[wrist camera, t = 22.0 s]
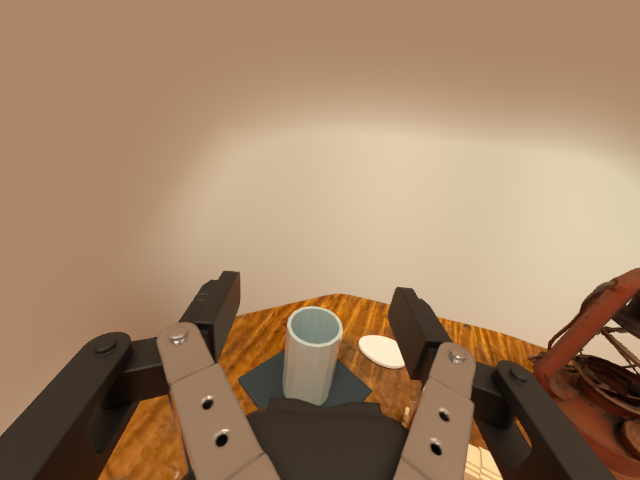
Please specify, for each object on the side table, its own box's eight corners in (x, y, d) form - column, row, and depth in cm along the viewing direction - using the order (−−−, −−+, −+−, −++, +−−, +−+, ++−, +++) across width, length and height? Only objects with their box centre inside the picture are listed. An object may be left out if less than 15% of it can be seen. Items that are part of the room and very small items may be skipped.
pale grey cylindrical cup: (304, 421, 28) (313, 357, 24) (272, 382, 32) (276, 320, 28) (339, 387, 32) (353, 328, 28) (308, 356, 36) (316, 299, 32)
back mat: (300, 469, 24) (300, 468, 24) (238, 379, 32) (238, 378, 32) (372, 391, 32) (372, 390, 32) (309, 334, 40) (309, 333, 40)
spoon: (492, 406, 32) (494, 403, 32) (355, 356, 37) (355, 353, 37) (483, 371, 37) (484, 369, 37) (361, 331, 42) (362, 328, 41)
